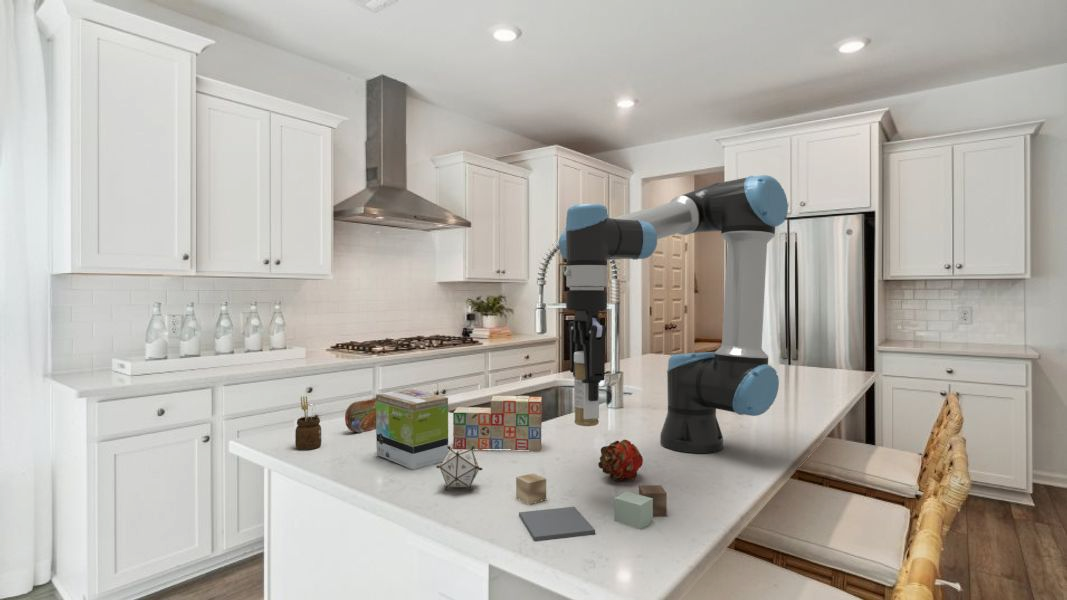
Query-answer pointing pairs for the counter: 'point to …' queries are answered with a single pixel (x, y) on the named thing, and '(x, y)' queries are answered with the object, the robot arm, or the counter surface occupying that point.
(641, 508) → the sage painted block
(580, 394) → the sprinkles bottle
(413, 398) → the tea box
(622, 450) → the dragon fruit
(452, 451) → the game die
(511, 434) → the stack of blocks
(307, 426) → the utensil holder
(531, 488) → the oak block
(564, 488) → the counter surface
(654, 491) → the walnut block
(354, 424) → the tin
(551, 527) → the slate mat
